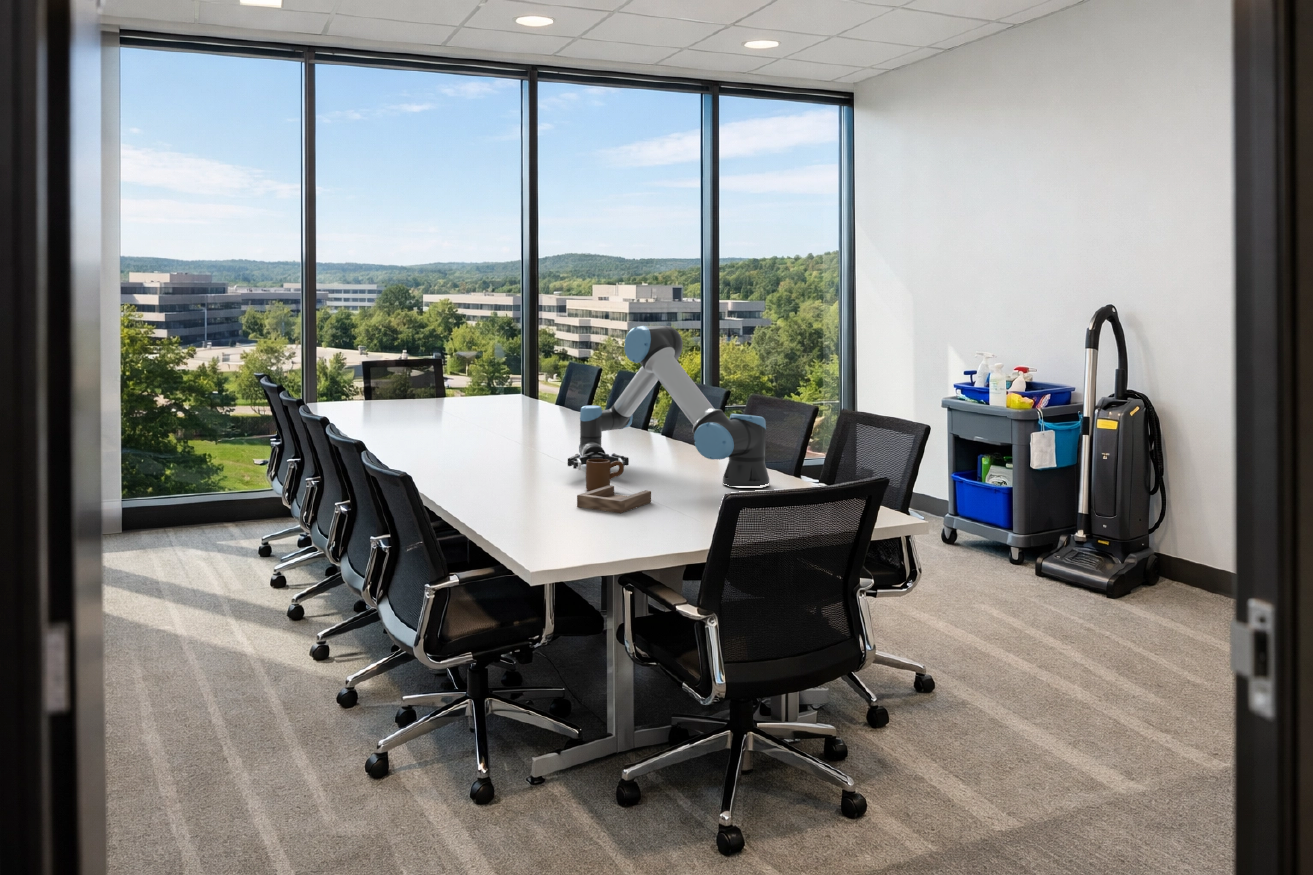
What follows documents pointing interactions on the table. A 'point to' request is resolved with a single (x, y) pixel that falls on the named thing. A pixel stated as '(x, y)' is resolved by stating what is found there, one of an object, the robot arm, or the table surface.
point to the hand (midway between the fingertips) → (601, 466)
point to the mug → (601, 473)
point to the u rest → (612, 500)
